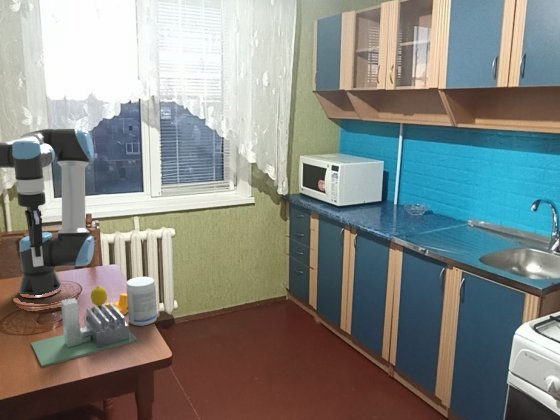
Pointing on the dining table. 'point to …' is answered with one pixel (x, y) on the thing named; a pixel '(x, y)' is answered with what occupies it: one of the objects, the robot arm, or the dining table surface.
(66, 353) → the board
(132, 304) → the supplement tub
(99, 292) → the lemon
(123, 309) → the pipe clamp
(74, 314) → the white upright block
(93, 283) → the dining table surface
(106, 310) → the heatsink
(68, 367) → the dining table surface
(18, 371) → the dining table surface
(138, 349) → the dining table surface
